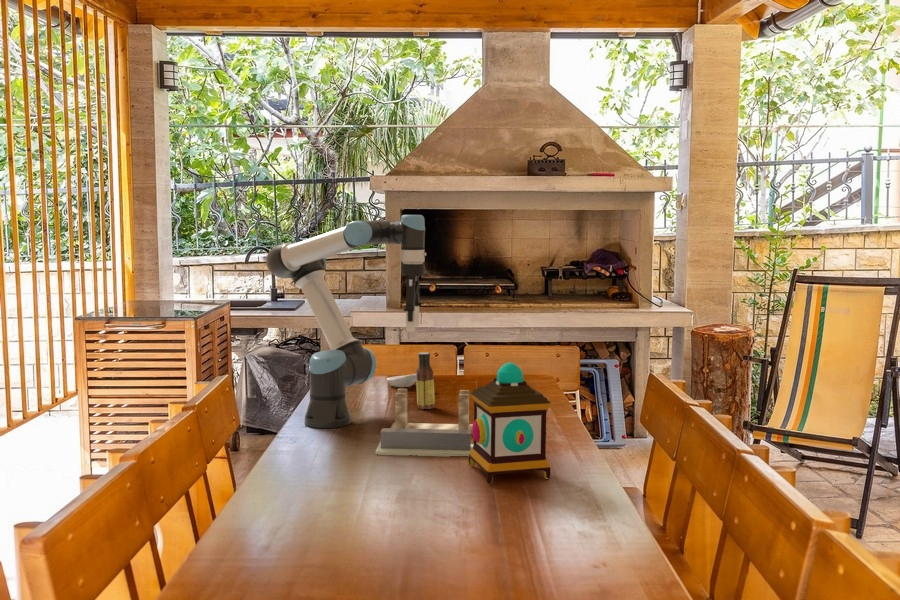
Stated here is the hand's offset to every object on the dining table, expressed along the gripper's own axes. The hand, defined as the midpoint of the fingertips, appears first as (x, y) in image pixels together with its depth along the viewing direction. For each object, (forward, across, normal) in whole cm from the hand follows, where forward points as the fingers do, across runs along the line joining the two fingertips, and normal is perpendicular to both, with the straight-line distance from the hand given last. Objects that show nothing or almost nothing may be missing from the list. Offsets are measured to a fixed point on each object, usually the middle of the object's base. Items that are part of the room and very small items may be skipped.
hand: (412, 328), depth 274 cm
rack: (+32, -6, -7) cm, 33 cm away
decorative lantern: (+32, -49, -31) cm, 66 cm away
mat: (+32, -30, -7) cm, 44 cm away
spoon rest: (+32, +57, +7) cm, 66 cm away
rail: (+31, -30, -7) cm, 44 cm away
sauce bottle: (+32, +24, -2) cm, 40 cm away
